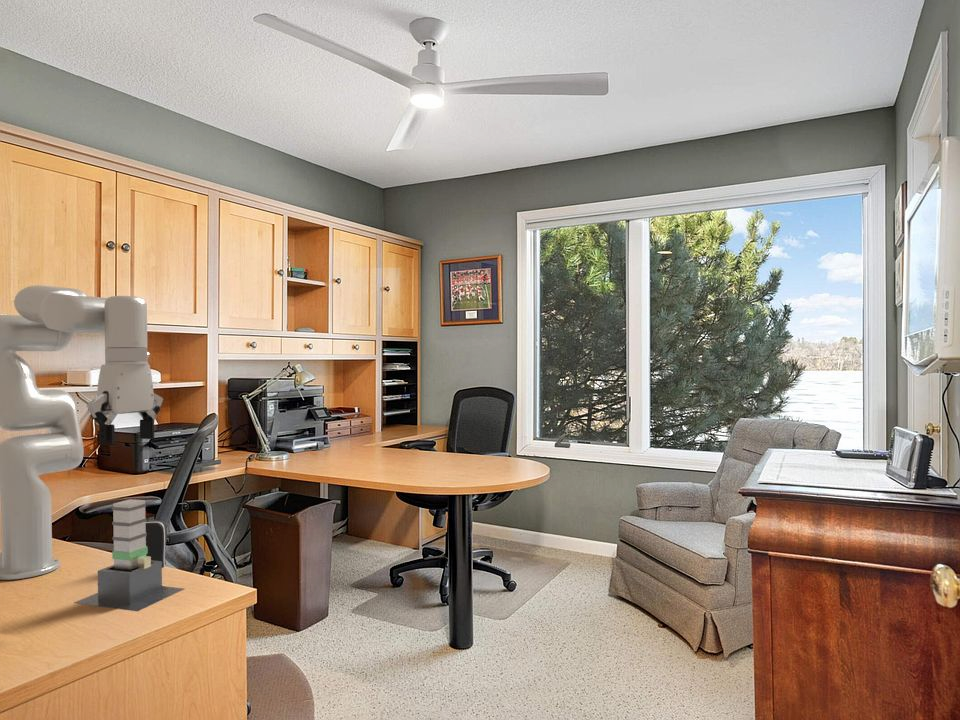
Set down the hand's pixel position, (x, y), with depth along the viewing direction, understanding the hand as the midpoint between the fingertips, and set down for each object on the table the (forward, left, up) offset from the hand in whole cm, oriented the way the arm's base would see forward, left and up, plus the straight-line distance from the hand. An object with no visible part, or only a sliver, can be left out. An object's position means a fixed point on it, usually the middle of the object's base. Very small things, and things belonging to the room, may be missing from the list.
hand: (127, 441), depth 126 cm
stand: (0, 0, -32) cm, 32 cm away
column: (0, 0, -25) cm, 25 cm away
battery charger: (-11, +16, -32) cm, 38 cm away
